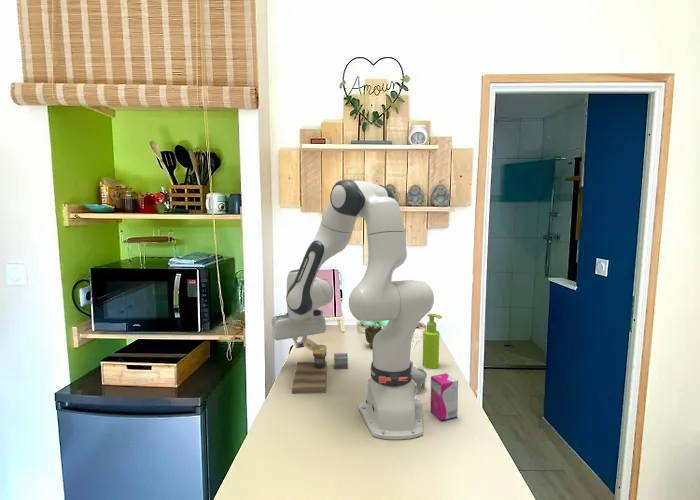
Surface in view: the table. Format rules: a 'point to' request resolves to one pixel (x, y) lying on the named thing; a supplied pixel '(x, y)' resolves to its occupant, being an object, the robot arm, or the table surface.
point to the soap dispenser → (431, 344)
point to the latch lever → (316, 348)
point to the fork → (415, 341)
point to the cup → (371, 334)
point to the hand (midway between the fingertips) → (299, 347)
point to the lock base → (316, 374)
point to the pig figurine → (418, 376)
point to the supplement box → (444, 397)
